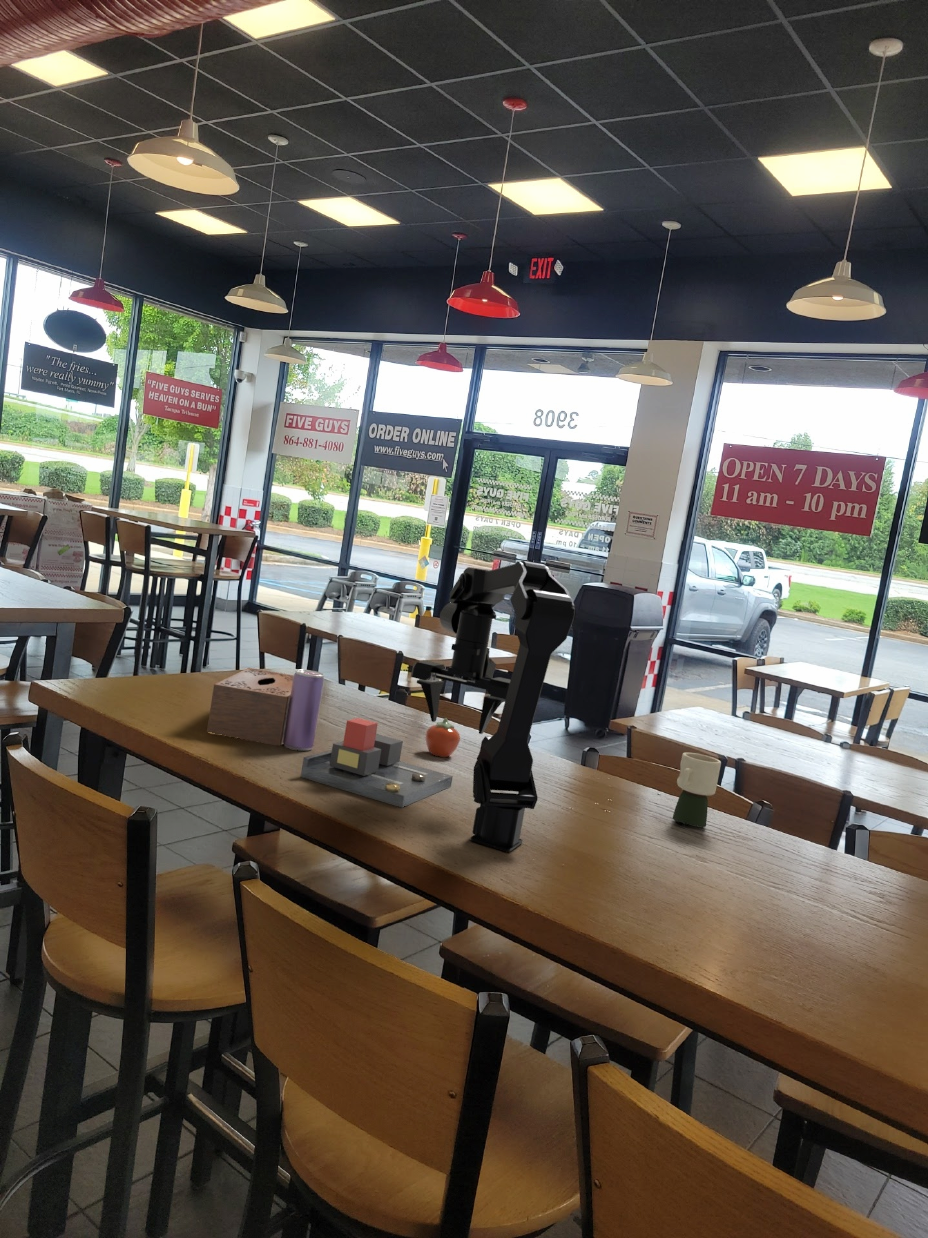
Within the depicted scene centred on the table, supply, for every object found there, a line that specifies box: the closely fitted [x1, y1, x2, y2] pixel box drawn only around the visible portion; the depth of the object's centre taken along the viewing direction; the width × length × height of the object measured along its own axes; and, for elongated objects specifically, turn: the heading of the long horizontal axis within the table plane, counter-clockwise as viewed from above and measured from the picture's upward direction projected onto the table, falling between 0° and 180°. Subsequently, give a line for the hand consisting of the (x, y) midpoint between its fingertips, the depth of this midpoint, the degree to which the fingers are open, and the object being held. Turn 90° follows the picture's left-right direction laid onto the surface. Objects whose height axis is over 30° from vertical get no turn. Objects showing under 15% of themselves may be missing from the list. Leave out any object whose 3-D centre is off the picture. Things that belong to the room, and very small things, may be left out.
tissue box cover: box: [206, 667, 294, 747], centre depth 186 cm, size 26×14×10 cm, turn 179°
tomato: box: [424, 717, 461, 758], centre depth 189 cm, size 7×7×8 cm
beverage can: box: [282, 669, 325, 752], centre depth 174 cm, size 6×6×15 cm
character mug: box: [672, 752, 722, 828], centre depth 167 cm, size 11×7×13 cm, turn 138°
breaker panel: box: [300, 749, 454, 808], centre depth 160 cm, size 20×20×4 cm
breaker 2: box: [374, 733, 404, 766], centre depth 167 cm, size 7×5×4 cm
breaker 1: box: [329, 740, 381, 776], centre depth 157 cm, size 7×5×4 cm
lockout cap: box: [343, 717, 379, 751], centre depth 157 cm, size 4×4×4 cm
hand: (457, 727), depth 157 cm, fingers open, 9 cm apart
